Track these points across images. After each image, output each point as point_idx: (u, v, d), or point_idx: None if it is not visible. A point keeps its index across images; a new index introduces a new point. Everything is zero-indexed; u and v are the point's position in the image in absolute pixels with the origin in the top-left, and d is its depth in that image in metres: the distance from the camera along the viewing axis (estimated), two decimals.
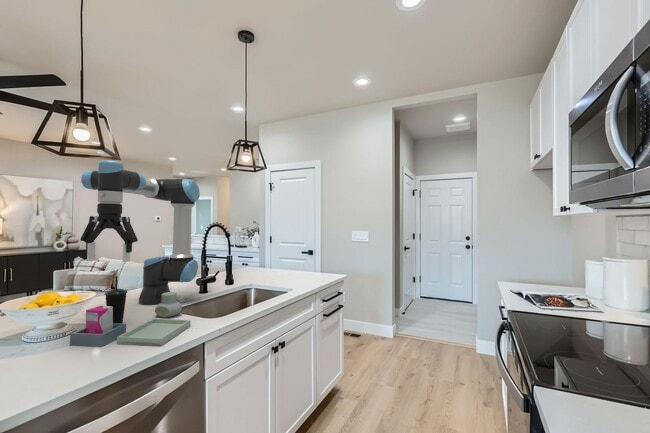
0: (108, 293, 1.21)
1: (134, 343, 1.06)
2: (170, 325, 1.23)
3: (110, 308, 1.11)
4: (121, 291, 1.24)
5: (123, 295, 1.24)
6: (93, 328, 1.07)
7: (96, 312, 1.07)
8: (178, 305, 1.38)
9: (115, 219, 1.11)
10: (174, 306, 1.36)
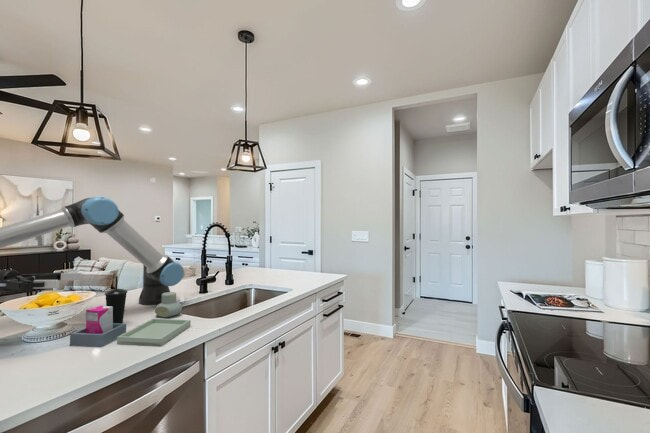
0: (108, 293, 1.21)
1: (134, 343, 1.06)
2: (170, 325, 1.23)
3: (110, 308, 1.11)
4: (121, 291, 1.24)
5: (123, 295, 1.24)
6: (93, 328, 1.07)
7: (96, 312, 1.07)
8: (178, 305, 1.38)
9: None
10: (174, 306, 1.36)
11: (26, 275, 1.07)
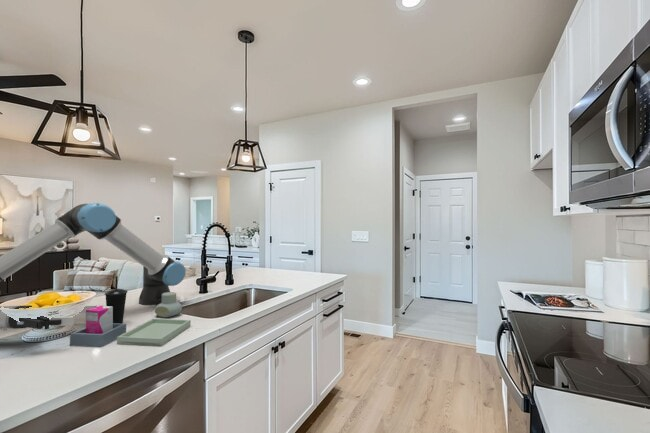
0: (108, 293, 1.21)
1: (134, 343, 1.06)
2: (170, 325, 1.23)
3: (110, 308, 1.11)
4: (121, 291, 1.24)
5: (123, 295, 1.24)
6: (93, 328, 1.07)
7: (96, 312, 1.07)
8: (178, 305, 1.38)
9: None
10: (174, 306, 1.36)
11: None
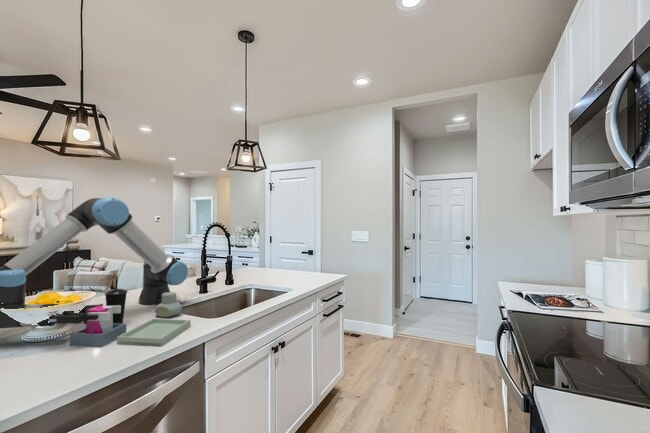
0: (108, 293, 1.21)
1: (134, 343, 1.06)
2: (170, 325, 1.23)
3: (110, 308, 1.11)
4: (121, 291, 1.24)
5: (123, 295, 1.24)
6: (93, 328, 1.07)
7: None
8: (178, 305, 1.38)
9: None
10: (174, 306, 1.36)
11: None
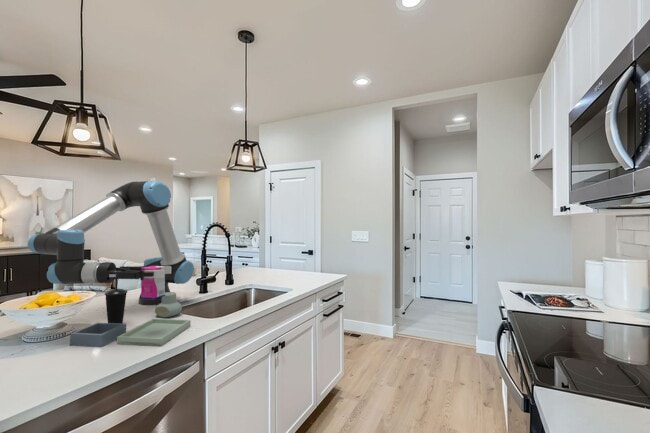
0: (108, 293, 1.21)
1: (134, 343, 1.06)
2: (170, 325, 1.23)
3: (163, 267, 1.16)
4: (121, 291, 1.24)
5: (123, 295, 1.24)
6: (148, 285, 1.12)
7: None
8: (178, 305, 1.38)
9: None
10: (174, 306, 1.36)
11: (123, 267, 1.14)
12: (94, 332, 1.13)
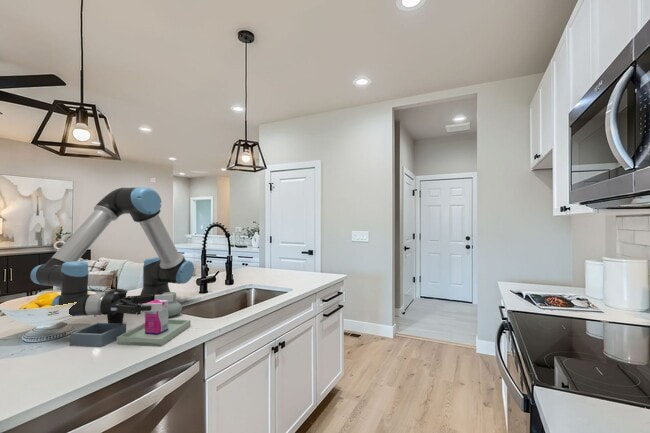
0: (108, 293, 1.21)
1: (134, 343, 1.06)
2: (170, 325, 1.23)
3: (166, 302, 1.17)
4: (121, 291, 1.24)
5: (123, 295, 1.24)
6: (152, 320, 1.13)
7: None
8: (178, 305, 1.38)
9: None
10: (174, 306, 1.36)
11: (127, 298, 1.15)
12: (94, 332, 1.13)
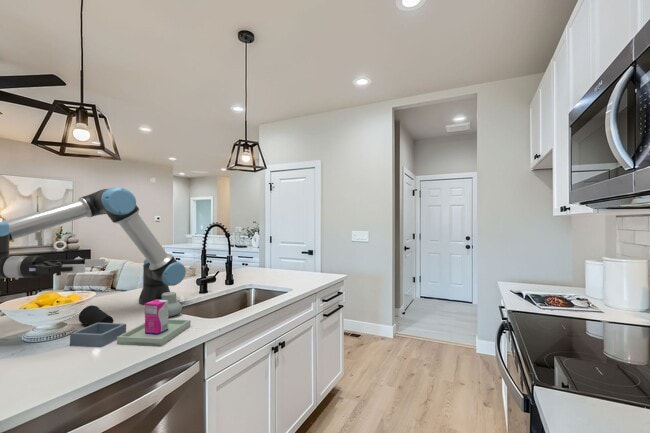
0: None
1: (134, 343, 1.06)
2: (170, 325, 1.23)
3: (166, 302, 1.17)
4: None
5: (92, 307, 1.26)
6: (152, 320, 1.13)
7: (155, 305, 1.13)
8: (178, 305, 1.38)
9: None
10: (174, 306, 1.36)
11: (52, 261, 1.10)
12: (94, 332, 1.13)
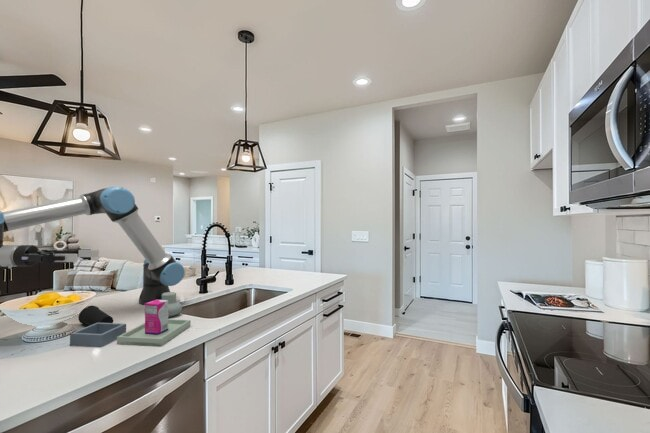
0: None
1: (134, 343, 1.06)
2: (170, 325, 1.23)
3: (166, 302, 1.17)
4: None
5: (91, 307, 1.26)
6: (152, 320, 1.13)
7: (155, 305, 1.13)
8: (178, 305, 1.38)
9: None
10: (174, 306, 1.36)
11: (46, 250, 1.10)
12: (94, 332, 1.13)
